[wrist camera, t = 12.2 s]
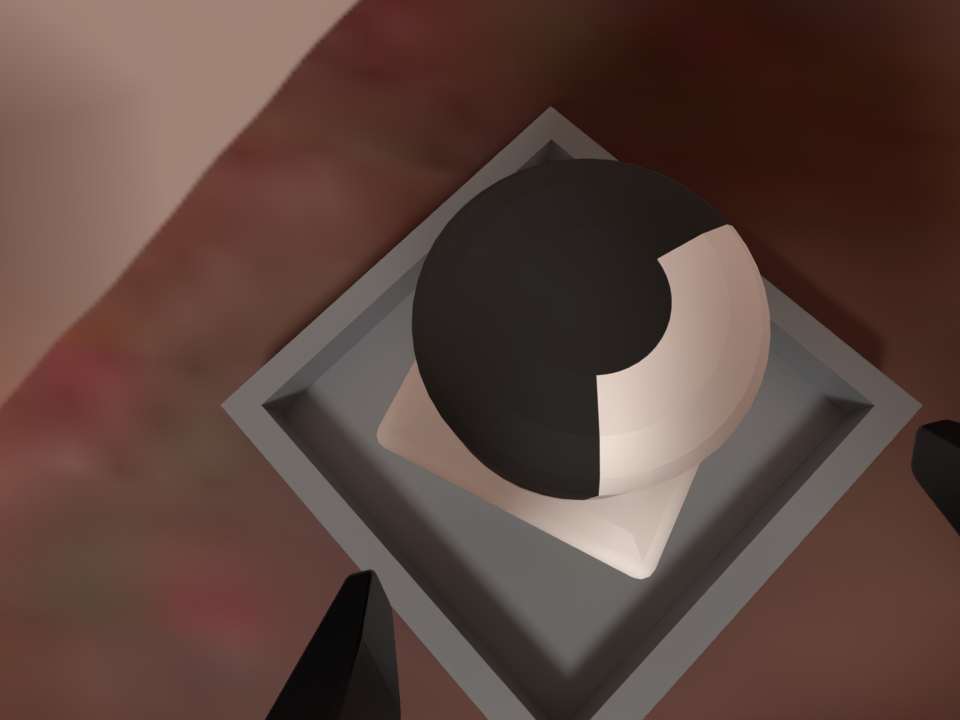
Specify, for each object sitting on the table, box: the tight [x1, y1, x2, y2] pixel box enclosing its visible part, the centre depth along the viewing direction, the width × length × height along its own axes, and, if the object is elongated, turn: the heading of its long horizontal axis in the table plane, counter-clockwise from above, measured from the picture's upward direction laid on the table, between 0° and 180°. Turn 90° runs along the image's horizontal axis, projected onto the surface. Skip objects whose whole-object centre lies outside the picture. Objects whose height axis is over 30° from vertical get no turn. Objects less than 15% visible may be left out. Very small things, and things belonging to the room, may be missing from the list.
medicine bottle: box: [377, 158, 770, 579], centre depth 15 cm, size 7×7×12 cm
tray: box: [221, 106, 923, 720], centre depth 21 cm, size 16×16×2 cm
